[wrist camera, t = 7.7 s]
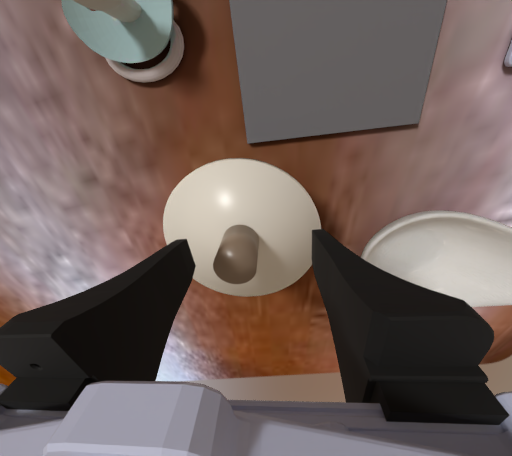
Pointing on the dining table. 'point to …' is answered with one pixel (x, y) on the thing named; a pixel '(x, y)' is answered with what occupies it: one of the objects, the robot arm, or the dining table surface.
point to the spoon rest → (448, 255)
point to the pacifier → (128, 34)
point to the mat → (332, 64)
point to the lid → (243, 226)
